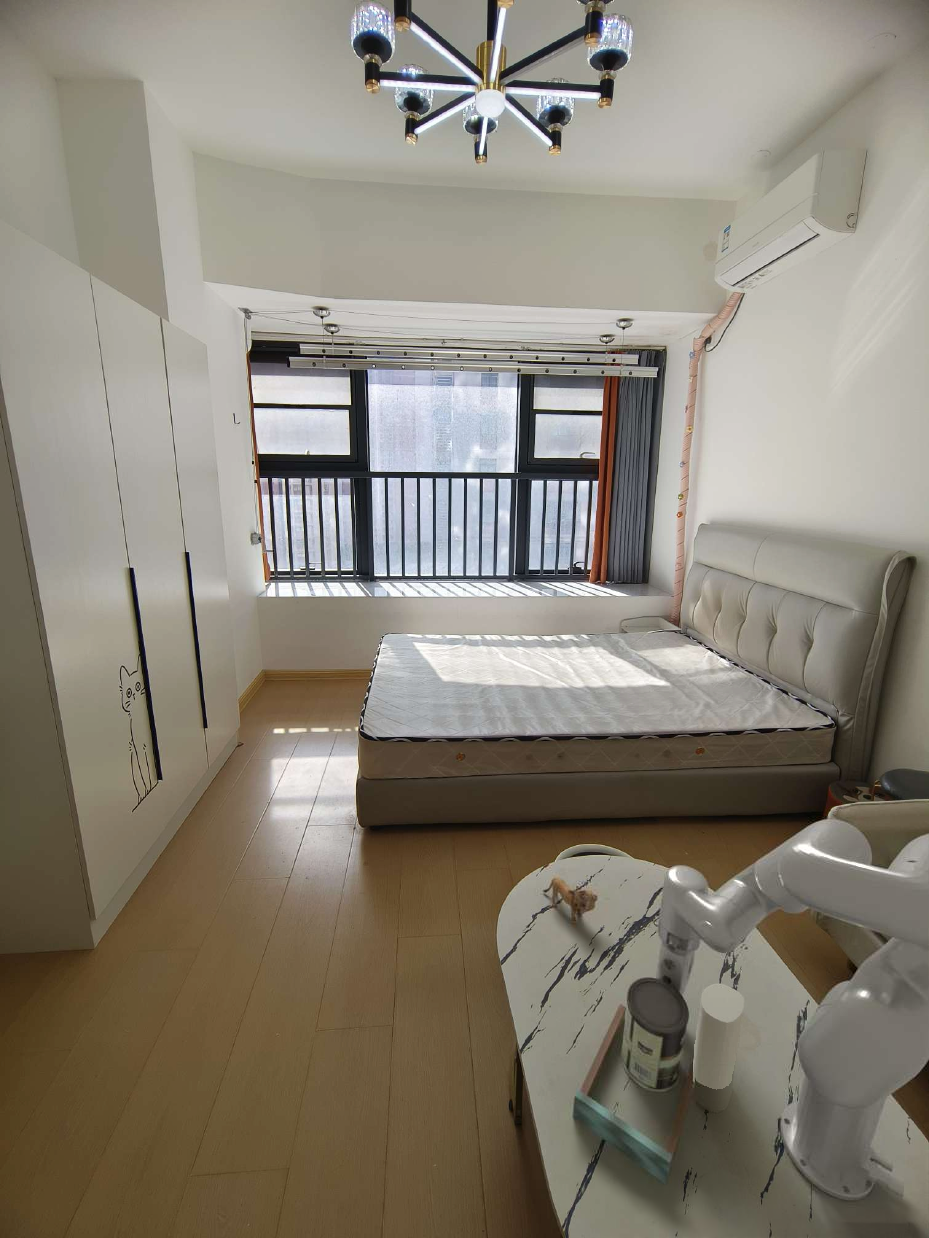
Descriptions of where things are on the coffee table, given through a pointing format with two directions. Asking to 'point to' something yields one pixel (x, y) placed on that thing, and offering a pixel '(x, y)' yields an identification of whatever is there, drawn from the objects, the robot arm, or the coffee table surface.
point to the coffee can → (654, 1034)
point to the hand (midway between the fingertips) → (668, 1002)
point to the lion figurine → (573, 897)
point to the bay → (620, 1131)
